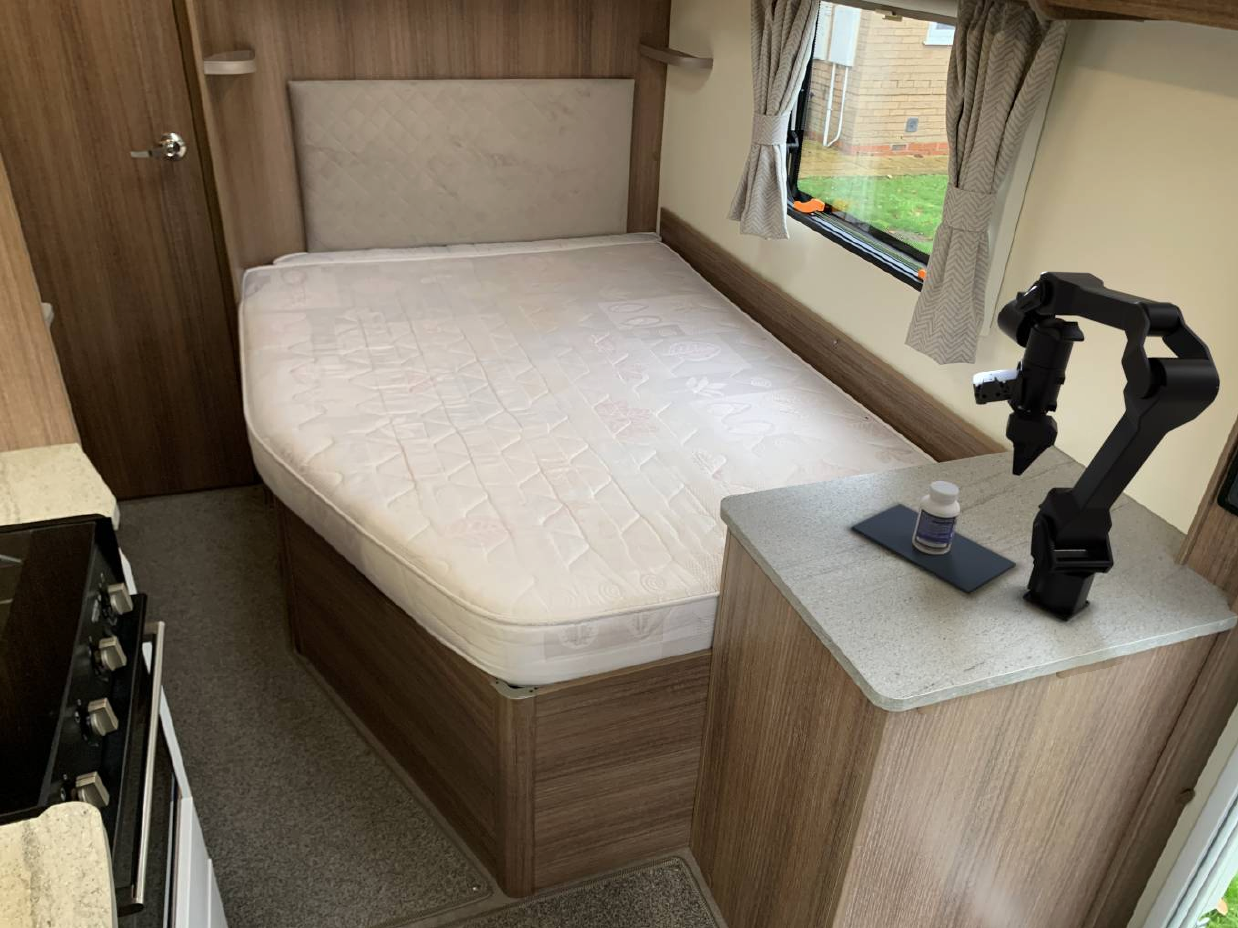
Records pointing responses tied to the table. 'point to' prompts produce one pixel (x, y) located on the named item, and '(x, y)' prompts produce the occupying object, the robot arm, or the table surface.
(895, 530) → the rubber mat
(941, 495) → the pill bottle
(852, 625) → the table surface
